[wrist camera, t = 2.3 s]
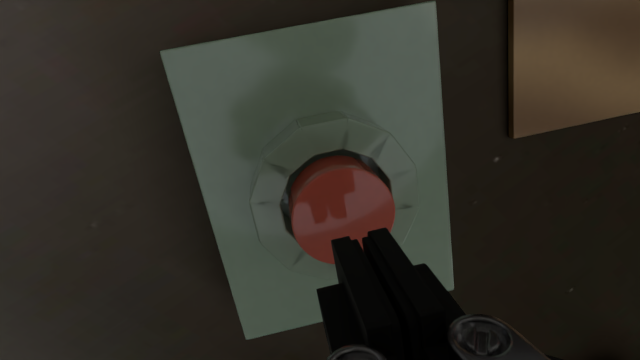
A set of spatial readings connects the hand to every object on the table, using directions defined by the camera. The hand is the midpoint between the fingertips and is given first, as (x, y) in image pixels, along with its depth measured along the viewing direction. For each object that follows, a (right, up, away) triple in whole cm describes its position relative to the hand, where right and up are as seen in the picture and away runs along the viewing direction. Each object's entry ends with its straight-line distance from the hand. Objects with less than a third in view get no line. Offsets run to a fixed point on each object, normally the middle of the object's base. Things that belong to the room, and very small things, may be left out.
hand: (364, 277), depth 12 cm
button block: (-1, +3, +9) cm, 10 cm away
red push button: (-1, +2, +5) cm, 5 cm away
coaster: (+13, +11, +9) cm, 20 cm away
